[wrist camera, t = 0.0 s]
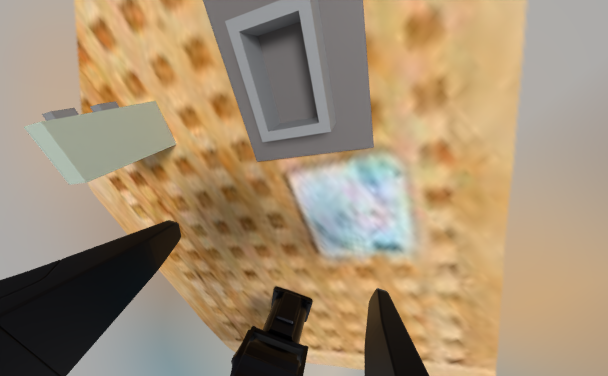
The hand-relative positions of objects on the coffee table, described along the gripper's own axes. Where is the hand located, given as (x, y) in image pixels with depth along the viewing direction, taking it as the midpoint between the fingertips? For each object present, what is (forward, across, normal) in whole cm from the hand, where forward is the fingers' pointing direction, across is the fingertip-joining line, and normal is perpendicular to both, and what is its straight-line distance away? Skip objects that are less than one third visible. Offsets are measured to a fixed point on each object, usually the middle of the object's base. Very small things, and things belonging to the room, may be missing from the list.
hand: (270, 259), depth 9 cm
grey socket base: (+15, +4, -6) cm, 16 cm away
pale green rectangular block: (+15, +20, +2) cm, 25 cm away
